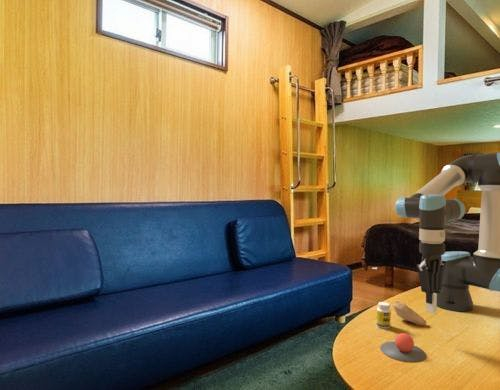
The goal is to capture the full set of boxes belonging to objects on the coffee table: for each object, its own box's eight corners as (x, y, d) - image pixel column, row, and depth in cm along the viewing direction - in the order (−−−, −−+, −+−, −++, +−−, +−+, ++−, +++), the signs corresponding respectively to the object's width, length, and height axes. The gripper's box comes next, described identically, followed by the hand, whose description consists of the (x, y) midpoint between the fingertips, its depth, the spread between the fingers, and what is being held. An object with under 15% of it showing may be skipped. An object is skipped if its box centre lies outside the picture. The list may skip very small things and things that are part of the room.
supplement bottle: (383, 330, 126) (384, 306, 125) (373, 325, 130) (374, 302, 129) (393, 327, 128) (393, 304, 127) (382, 322, 132) (383, 300, 132)
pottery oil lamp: (421, 330, 126) (421, 310, 125) (388, 320, 134) (388, 302, 134) (429, 323, 132) (430, 304, 131) (397, 314, 140) (397, 297, 140)
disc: (408, 340, 117) (408, 340, 117) (436, 360, 104) (436, 359, 104) (372, 343, 114) (372, 343, 114) (396, 364, 102) (396, 363, 102)
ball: (403, 351, 112) (408, 334, 113) (415, 357, 107) (420, 339, 108) (388, 345, 111) (394, 328, 112) (399, 351, 106) (405, 333, 107)
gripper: (431, 245, 109) (430, 320, 110) (454, 241, 116) (453, 311, 117) (409, 242, 115) (408, 312, 116) (432, 238, 122) (431, 305, 123)
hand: (431, 312), depth 117 cm, fingers closed
